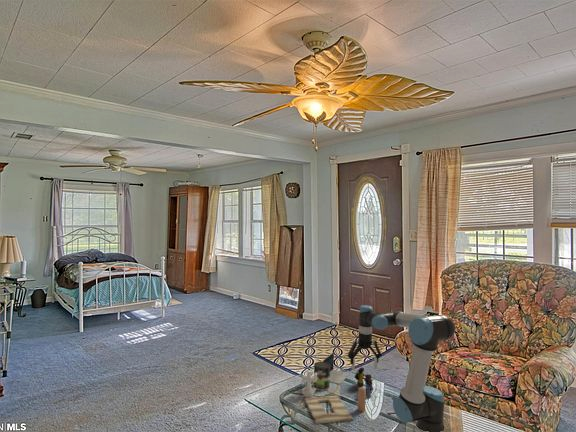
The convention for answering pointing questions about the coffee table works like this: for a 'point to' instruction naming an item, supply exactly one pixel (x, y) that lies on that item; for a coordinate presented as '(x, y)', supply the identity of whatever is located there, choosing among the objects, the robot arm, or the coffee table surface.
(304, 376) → the figurine
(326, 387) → the green brown figure
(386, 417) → the coffee table surface
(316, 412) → the keyhole board
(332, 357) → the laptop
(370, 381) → the doll family
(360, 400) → the peg
